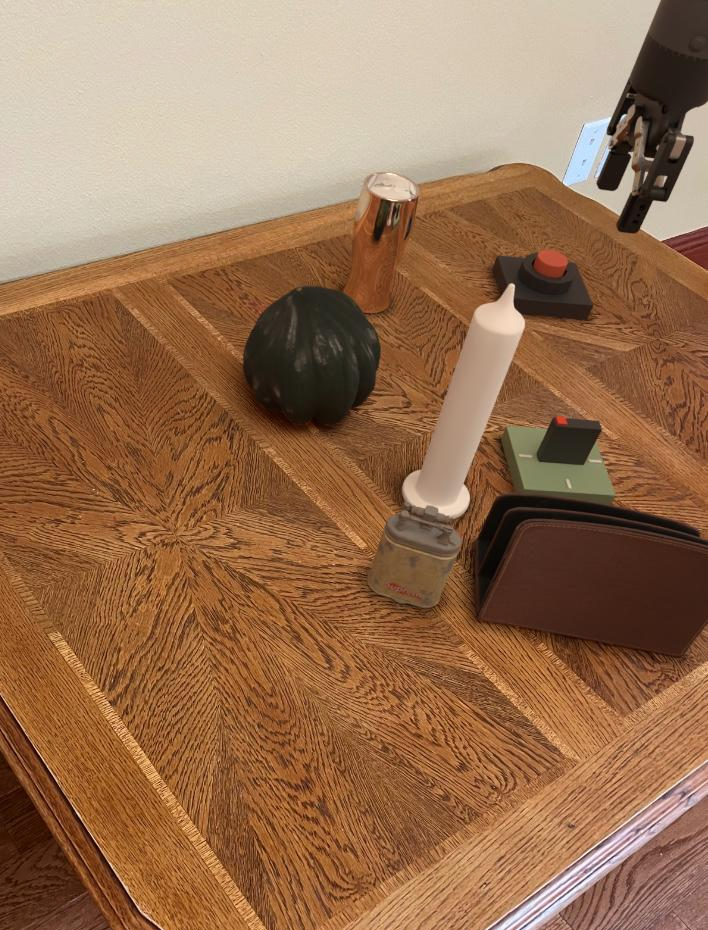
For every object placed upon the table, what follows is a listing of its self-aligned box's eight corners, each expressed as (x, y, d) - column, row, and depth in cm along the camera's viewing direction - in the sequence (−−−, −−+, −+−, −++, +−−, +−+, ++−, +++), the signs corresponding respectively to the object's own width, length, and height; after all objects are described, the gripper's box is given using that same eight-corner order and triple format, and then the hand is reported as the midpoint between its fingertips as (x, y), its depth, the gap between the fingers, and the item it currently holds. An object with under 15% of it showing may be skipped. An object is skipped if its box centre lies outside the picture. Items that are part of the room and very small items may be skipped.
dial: (580, 456, 102) (599, 418, 98) (583, 465, 101) (603, 427, 97) (536, 453, 101) (553, 415, 97) (539, 461, 100) (556, 424, 96)
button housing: (569, 277, 129) (580, 250, 126) (587, 320, 123) (599, 293, 119) (491, 269, 128) (501, 242, 125) (505, 312, 121) (516, 285, 118)
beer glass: (390, 320, 117) (420, 206, 106) (335, 309, 117) (359, 194, 106) (394, 290, 122) (423, 177, 110) (341, 280, 122) (364, 166, 110)
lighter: (442, 587, 90) (473, 514, 82) (435, 616, 88) (466, 544, 80) (371, 565, 91) (394, 491, 83) (362, 593, 88) (385, 519, 81)
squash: (419, 356, 104) (354, 235, 97) (372, 437, 95) (297, 310, 88) (319, 389, 113) (253, 281, 106) (267, 465, 105) (192, 353, 98)
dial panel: (585, 445, 106) (593, 430, 104) (608, 508, 100) (617, 494, 98) (500, 439, 105) (506, 424, 103) (518, 502, 99) (524, 487, 97)
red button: (559, 263, 124) (564, 250, 122) (566, 280, 121) (571, 267, 120) (530, 260, 123) (534, 247, 122) (536, 277, 121) (541, 265, 119)
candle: (459, 530, 95) (545, 318, 76) (393, 506, 96) (462, 292, 77) (474, 487, 100) (560, 276, 80) (411, 465, 101) (481, 252, 81)
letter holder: (682, 660, 88) (762, 560, 77) (473, 622, 88) (523, 517, 77) (667, 580, 94) (739, 478, 83) (472, 545, 94) (519, 438, 83)
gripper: (757, 76, 80) (669, 251, 92) (706, 12, 89) (632, 179, 101) (674, 64, 79) (596, 242, 91) (631, 1, 88) (565, 171, 100)
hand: (615, 209), depth 96 cm, fingers open, 8 cm apart
